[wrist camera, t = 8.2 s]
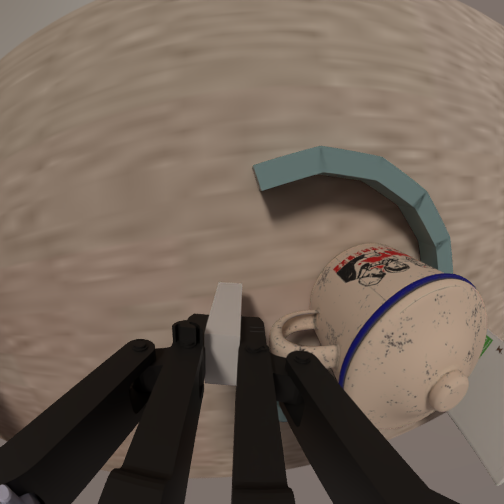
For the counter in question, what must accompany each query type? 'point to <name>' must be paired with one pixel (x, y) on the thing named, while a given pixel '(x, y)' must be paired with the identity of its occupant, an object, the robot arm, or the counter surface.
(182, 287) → the counter surface
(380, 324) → the teacup with lid
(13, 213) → the counter surface
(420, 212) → the open curved ring
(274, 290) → the counter surface
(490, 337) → the skincare box
